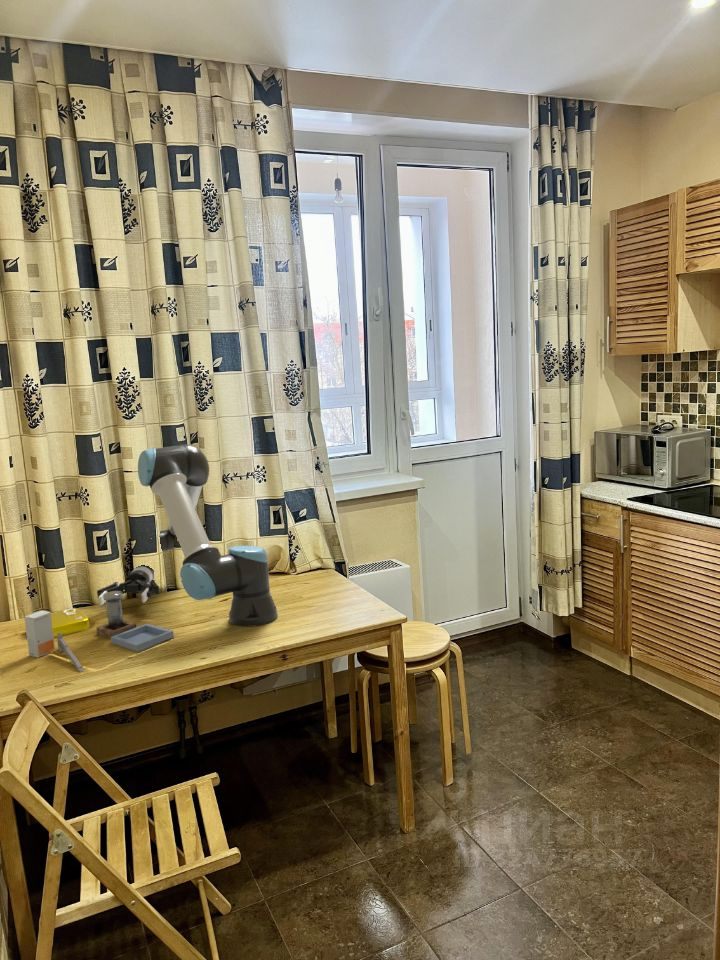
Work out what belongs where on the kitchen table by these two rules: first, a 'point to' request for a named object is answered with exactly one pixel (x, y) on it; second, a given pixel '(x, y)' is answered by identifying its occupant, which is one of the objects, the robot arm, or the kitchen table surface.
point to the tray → (142, 637)
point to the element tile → (69, 621)
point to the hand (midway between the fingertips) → (121, 599)
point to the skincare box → (39, 633)
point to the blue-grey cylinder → (114, 609)
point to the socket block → (109, 633)
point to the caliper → (68, 652)
